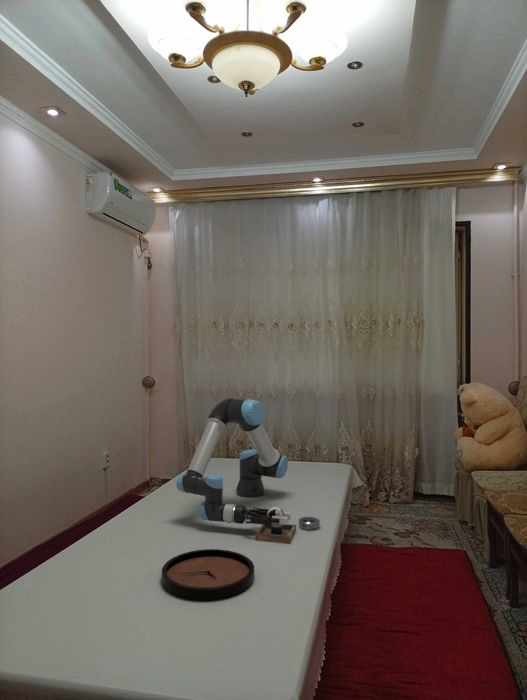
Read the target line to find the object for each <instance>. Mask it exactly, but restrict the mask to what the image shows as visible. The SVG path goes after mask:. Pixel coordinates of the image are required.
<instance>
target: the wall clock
mask: <svg viewBox="0 0 527 700" xmlns="http://www.w3.org/2000/svg"><path fill="white" fill-rule="evenodd" d="M254 581H255V564H254V562H253V561H252V560H251V559H250V558H249V557H247V556H246V555H244V554H242V553H239V552H236V551H231V550H226V549H217V548H215V549H213V548H211V549H207V548H206V549H197V550H191V551H187V552H183V553H180V554H178V555H176V556H173V557H172V558H170V559H169V560H167V561H166V562H164V564H163V566H162V568H161V586H162V588H163V590H164V591H165V592H166V593H168V594H170V595H171V596H173V597H176V598H178V599H182V600H186V601H191V602H192V601H193V602H215V601H222V600H227V599H231V598H233V597H237V596H239V595H241V594H243V593H245V592H246V591H248V590H249V589H250V588H251V587H252V586H253V584H254Z"/></svg>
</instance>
